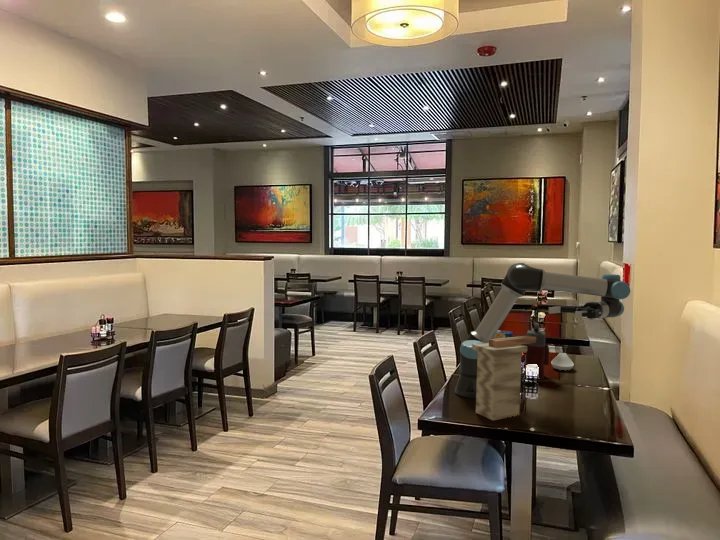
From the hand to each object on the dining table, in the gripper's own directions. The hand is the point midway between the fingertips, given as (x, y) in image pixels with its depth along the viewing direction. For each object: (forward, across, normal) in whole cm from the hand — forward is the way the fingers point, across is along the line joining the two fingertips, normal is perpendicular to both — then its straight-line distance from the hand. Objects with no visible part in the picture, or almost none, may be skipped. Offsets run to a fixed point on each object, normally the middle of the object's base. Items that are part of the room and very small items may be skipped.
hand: (562, 312), depth 217 cm
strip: (+25, +3, -12) cm, 28 cm away
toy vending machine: (-27, +37, -40) cm, 61 cm away
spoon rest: (-57, +46, -40) cm, 84 cm away
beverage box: (-15, +51, -40) cm, 67 cm away
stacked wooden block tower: (+32, +3, -40) cm, 51 cm away
